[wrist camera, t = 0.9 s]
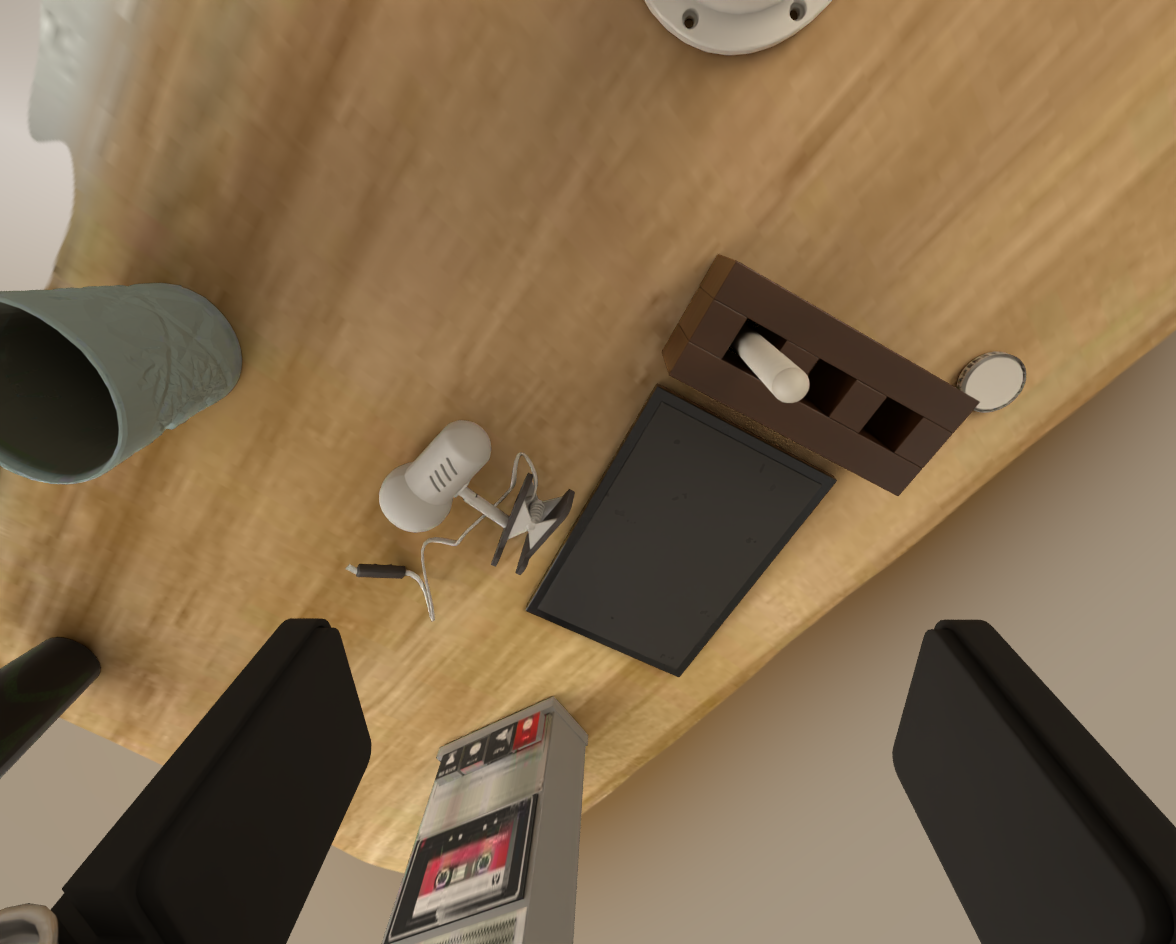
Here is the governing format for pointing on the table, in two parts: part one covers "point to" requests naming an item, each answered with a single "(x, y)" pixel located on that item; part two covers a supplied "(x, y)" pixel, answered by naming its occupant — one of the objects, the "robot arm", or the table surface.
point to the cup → (40, 692)
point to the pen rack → (816, 378)
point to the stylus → (771, 366)
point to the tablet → (676, 533)
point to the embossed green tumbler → (105, 374)
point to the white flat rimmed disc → (993, 380)
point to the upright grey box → (499, 837)
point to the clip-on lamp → (444, 472)
